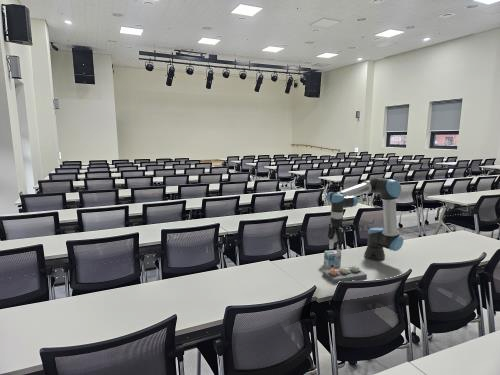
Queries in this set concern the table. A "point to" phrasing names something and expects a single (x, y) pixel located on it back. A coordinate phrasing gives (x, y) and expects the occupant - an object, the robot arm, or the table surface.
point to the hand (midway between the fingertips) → (335, 250)
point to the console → (345, 276)
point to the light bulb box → (332, 259)
